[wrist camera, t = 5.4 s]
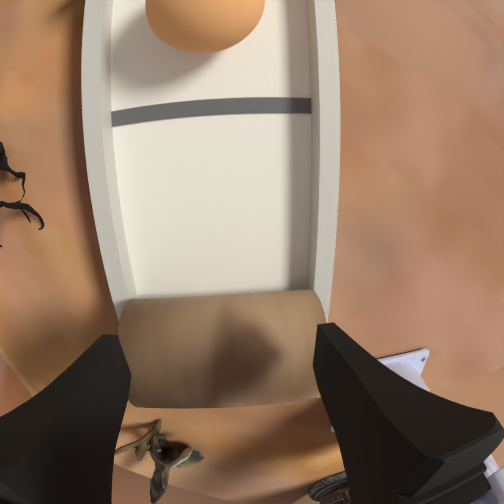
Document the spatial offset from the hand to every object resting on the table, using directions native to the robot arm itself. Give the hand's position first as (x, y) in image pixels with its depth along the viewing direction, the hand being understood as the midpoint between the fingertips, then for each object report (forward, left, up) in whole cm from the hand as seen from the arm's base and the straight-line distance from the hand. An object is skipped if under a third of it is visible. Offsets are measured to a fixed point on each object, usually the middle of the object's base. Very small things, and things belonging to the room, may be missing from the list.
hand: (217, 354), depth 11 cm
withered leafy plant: (-19, +7, -8) cm, 22 cm away
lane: (+6, 0, -8) cm, 10 cm away
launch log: (-4, 0, -8) cm, 9 cm away
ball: (+13, 0, -5) cm, 14 cm away
